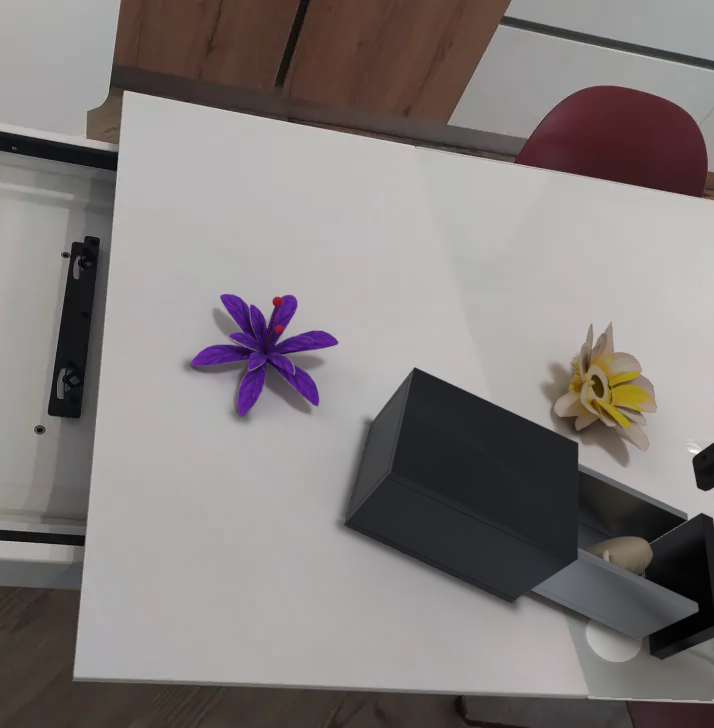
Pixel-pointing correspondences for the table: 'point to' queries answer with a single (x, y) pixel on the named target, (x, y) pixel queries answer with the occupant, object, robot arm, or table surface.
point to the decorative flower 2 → (608, 390)
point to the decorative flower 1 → (265, 348)
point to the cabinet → (468, 488)
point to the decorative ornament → (624, 553)
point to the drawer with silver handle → (662, 576)
